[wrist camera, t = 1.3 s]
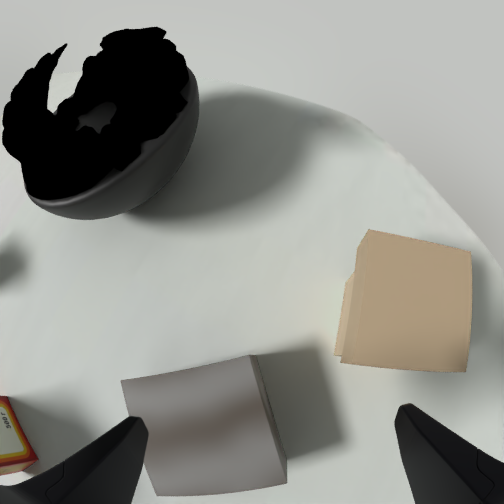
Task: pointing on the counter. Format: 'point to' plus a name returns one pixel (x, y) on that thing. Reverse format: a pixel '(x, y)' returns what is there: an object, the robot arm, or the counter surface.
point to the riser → (208, 429)
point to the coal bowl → (104, 126)
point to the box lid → (409, 305)
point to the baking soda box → (13, 442)
